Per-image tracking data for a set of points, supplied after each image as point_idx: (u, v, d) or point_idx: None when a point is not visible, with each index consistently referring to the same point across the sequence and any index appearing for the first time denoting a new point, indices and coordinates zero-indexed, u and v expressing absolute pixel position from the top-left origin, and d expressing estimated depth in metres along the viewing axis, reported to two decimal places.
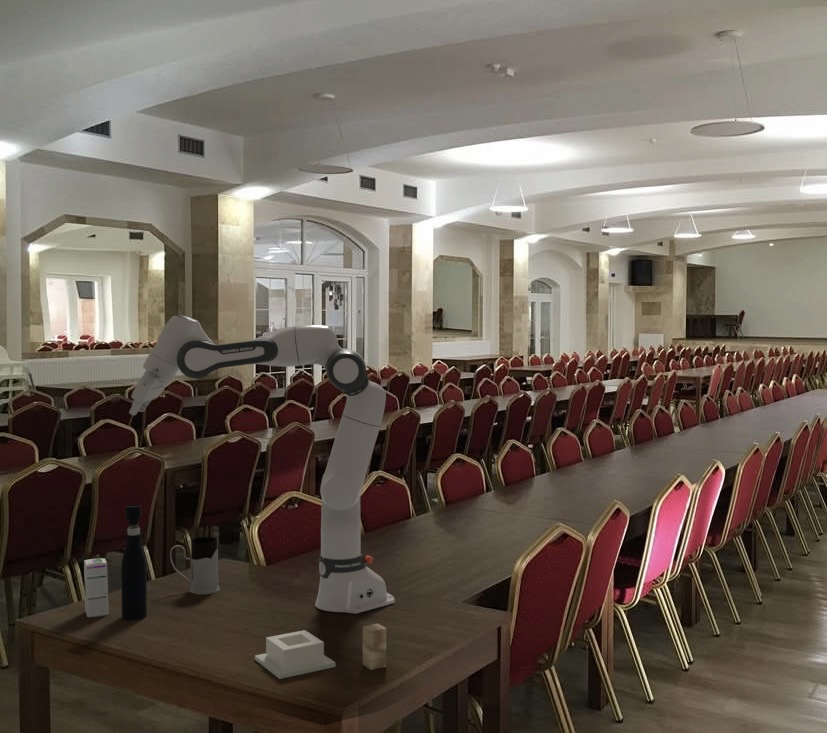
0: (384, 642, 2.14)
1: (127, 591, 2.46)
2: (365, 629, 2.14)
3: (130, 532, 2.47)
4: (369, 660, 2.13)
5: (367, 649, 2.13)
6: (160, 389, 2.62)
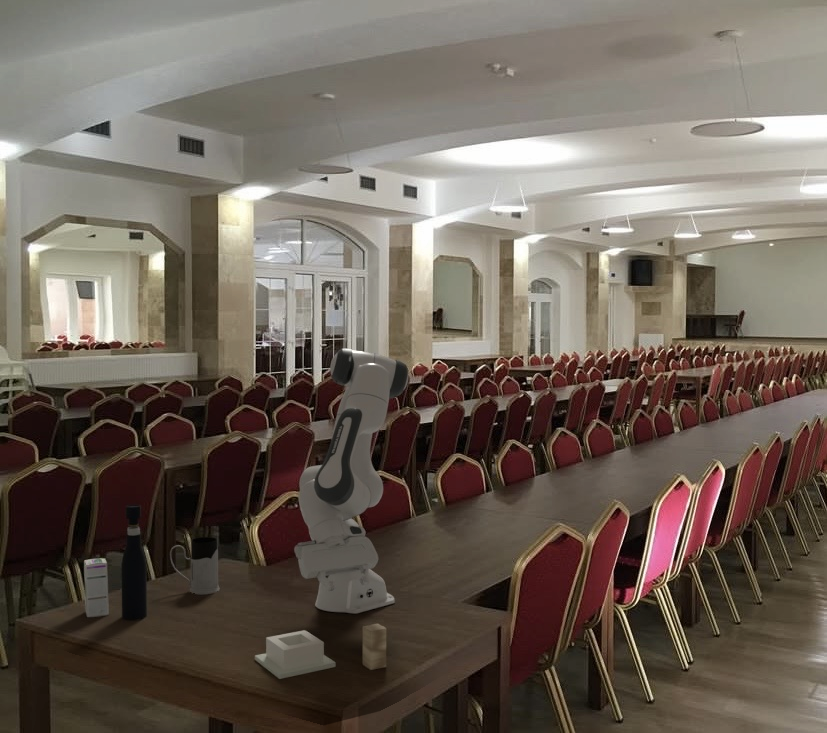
0: (384, 642, 2.14)
1: (127, 591, 2.46)
2: (365, 629, 2.14)
3: (130, 532, 2.47)
4: (369, 660, 2.13)
5: (367, 649, 2.13)
6: (364, 552, 2.31)
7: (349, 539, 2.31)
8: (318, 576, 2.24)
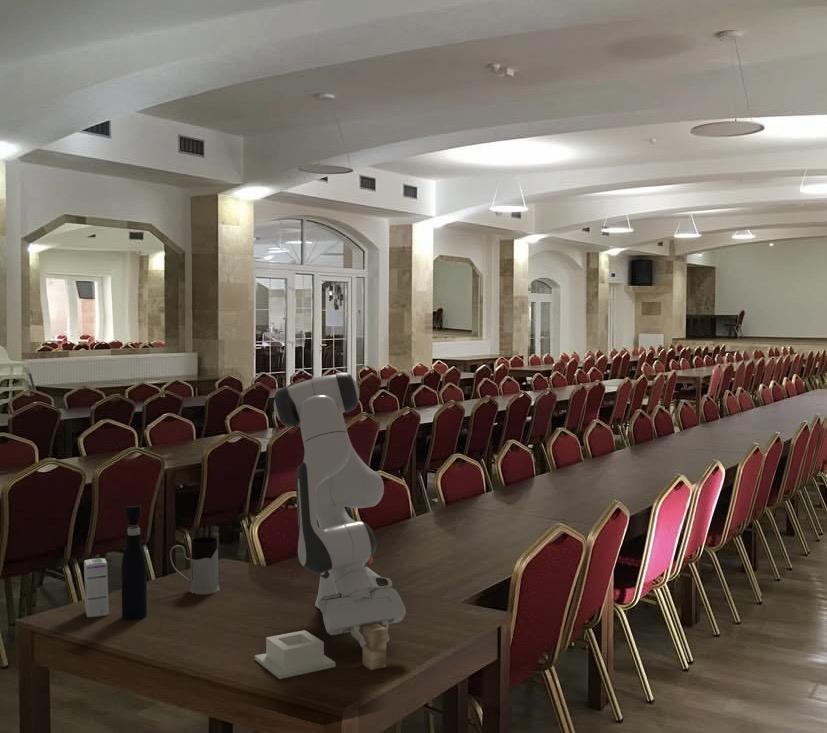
0: (384, 642, 2.14)
1: (127, 591, 2.46)
2: (365, 629, 2.14)
3: (130, 532, 2.47)
4: (369, 660, 2.13)
5: (367, 649, 2.13)
6: (391, 605, 2.21)
7: (375, 592, 2.21)
8: (351, 631, 2.14)
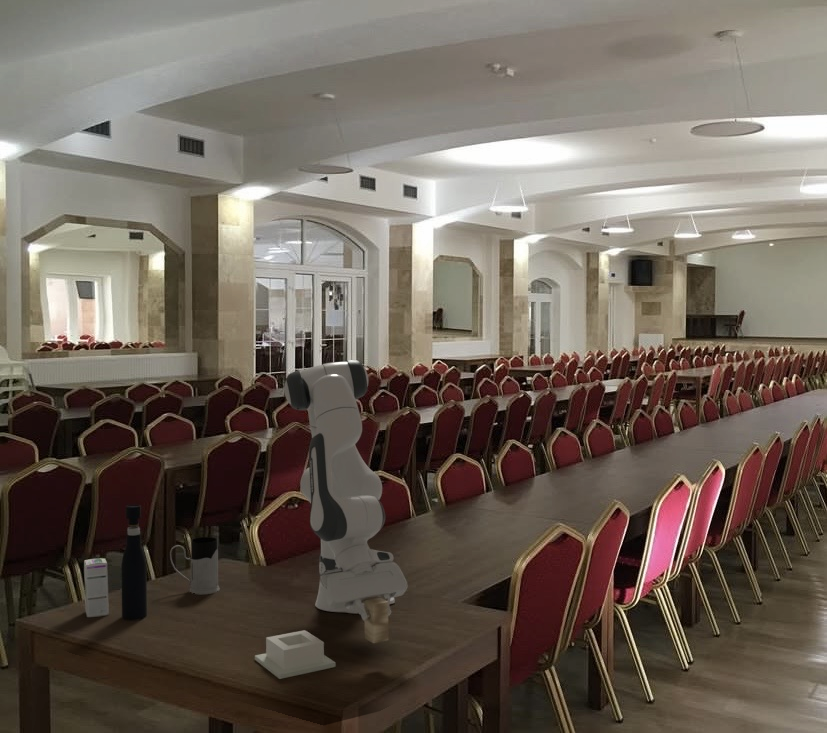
0: (386, 615, 2.14)
1: (127, 591, 2.46)
2: (367, 603, 2.14)
3: (130, 532, 2.47)
4: (371, 634, 2.13)
5: (369, 623, 2.13)
6: (393, 579, 2.21)
7: (377, 566, 2.20)
8: (353, 605, 2.14)
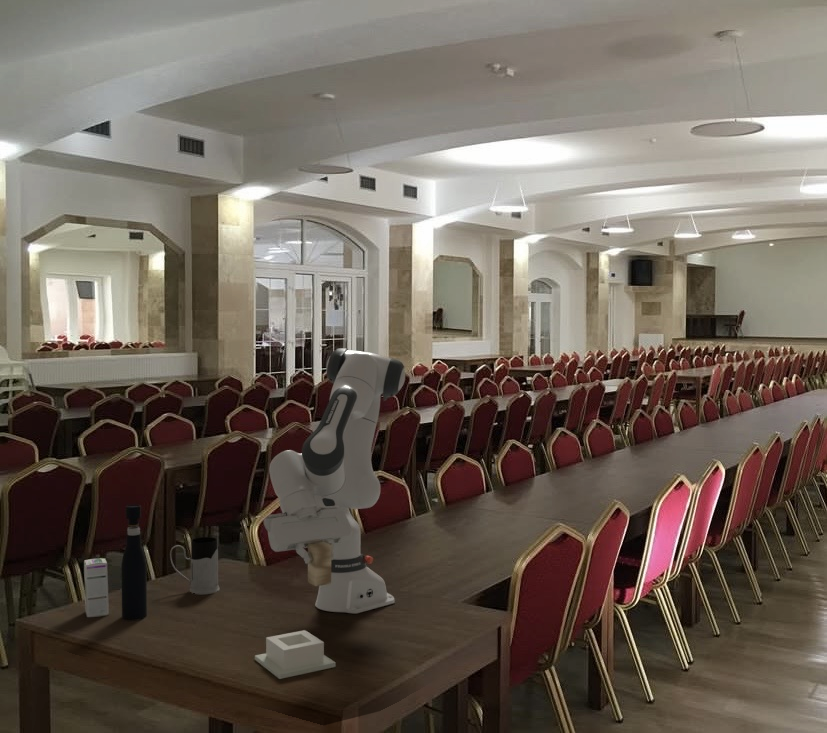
0: (329, 559, 2.14)
1: (127, 591, 2.46)
2: (310, 546, 2.14)
3: (130, 532, 2.47)
4: (314, 577, 2.13)
5: (312, 566, 2.13)
6: (338, 525, 2.21)
7: (322, 511, 2.21)
8: (296, 548, 2.14)
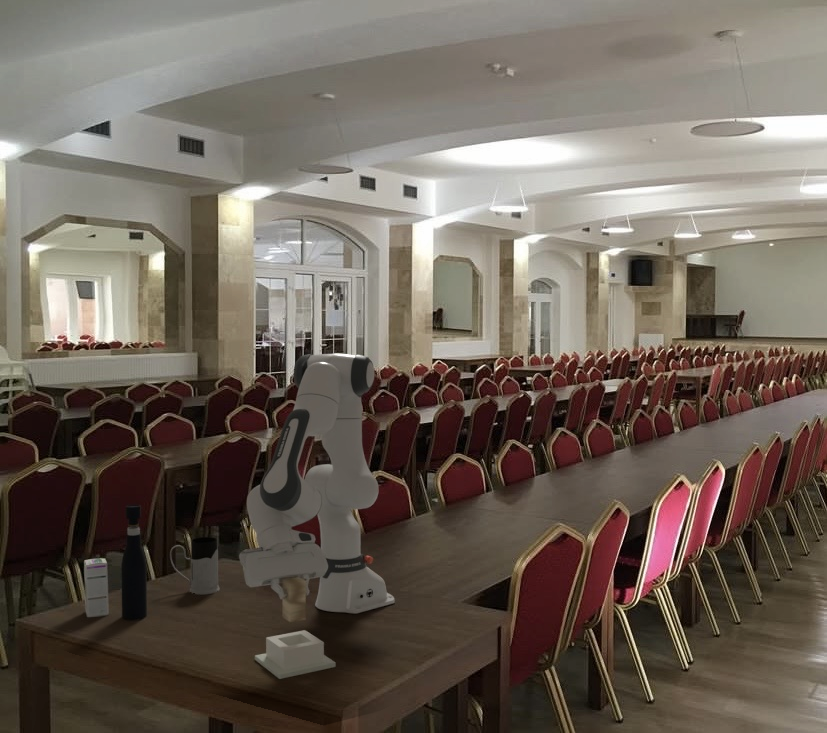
0: (303, 595, 2.14)
1: (127, 591, 2.46)
2: (285, 582, 2.15)
3: (130, 532, 2.47)
4: (288, 613, 2.13)
5: (286, 601, 2.14)
6: (313, 560, 2.22)
7: (297, 546, 2.21)
8: (271, 583, 2.15)
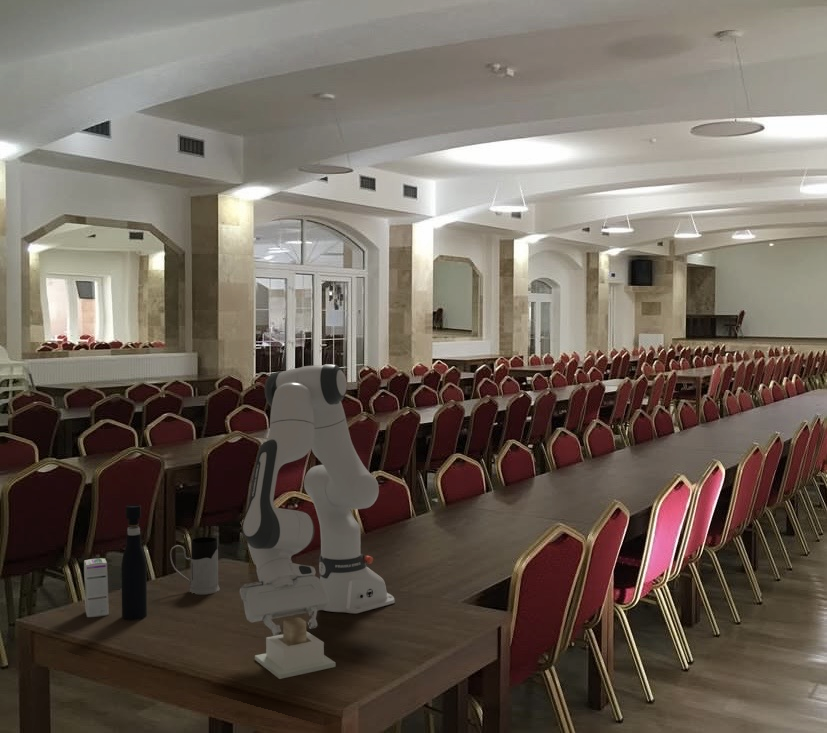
0: (304, 635, 2.15)
1: (127, 591, 2.46)
2: (285, 623, 2.15)
3: (130, 532, 2.47)
4: None
5: (287, 642, 2.14)
6: (314, 593, 2.22)
7: (298, 579, 2.22)
8: (264, 619, 2.14)
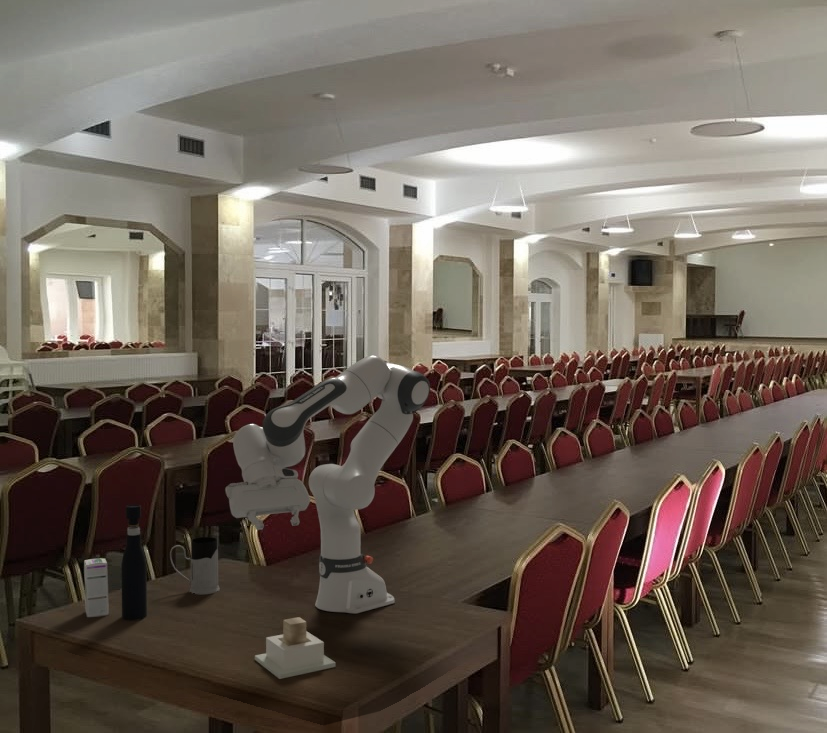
0: (304, 635, 2.15)
1: (127, 591, 2.46)
2: (285, 623, 2.15)
3: (130, 532, 2.47)
4: None
5: (287, 642, 2.14)
6: (296, 493, 2.34)
7: (281, 481, 2.34)
8: (248, 515, 2.26)
